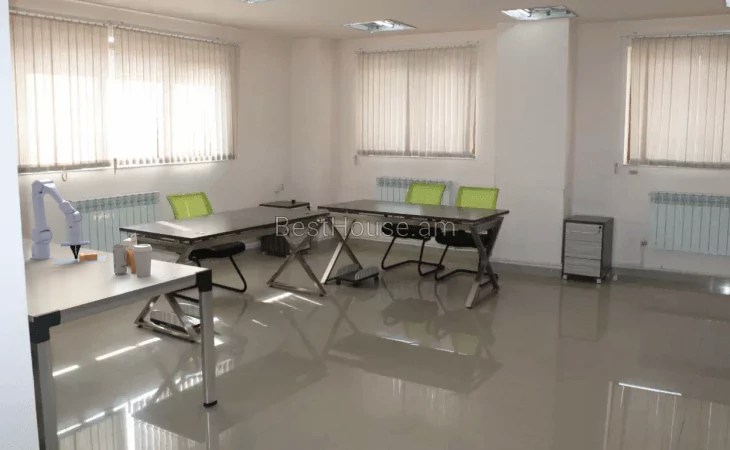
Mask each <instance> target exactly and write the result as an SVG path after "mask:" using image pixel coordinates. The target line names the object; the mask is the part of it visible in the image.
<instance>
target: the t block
mask: <svg viewBox="0 0 730 450" xmlns="http://www.w3.org/2000/svg"><path fill="white" fill-rule="evenodd" d="M98 256H99V255H98V252H93V253H92V252H91V253H85V252H79V254H78V257H79V262H84V261H85V260H98Z"/></svg>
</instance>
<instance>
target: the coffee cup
mask: <svg viewBox="0 0 730 450" xmlns="http://www.w3.org/2000/svg"><path fill="white" fill-rule="evenodd" d="M132 251H133V253H134V260H135V267H136V273H135V274H136V277H139V278H146V277H150V276H151V271H152V270H151V269H152V252H153V247H152V245H151V244H148V243H141V244H137V245H135V246H134V247H133V249H132Z"/></svg>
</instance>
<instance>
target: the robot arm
mask: <svg viewBox="0 0 730 450" xmlns="http://www.w3.org/2000/svg"><path fill="white" fill-rule="evenodd" d="M56 185H57V184H56V183H54V180H53V179H51V178H48V179H47V178H46V179H36V180H34V181H33V182H32V183H31V201H32V207H33V208H32V209H33V216H34V224H35V226H34V227H33V228H32V230H31V241H32V242H33V243H32V244H31V247H30V248H31V251H30V252H31V259H35V260H41V261H42V260H43V261H44V260H48V259H51V258H53V259H54V256H51V240H52V239H53V237H54V236H53V232H52V231H51V227H50V226H49V225H47V218H46V209H45V200H44V197H45V195H50V197H52V199H54V201H55V202H56V203H57V204H58V208H59V210H60V211H61V212H62V213H63V215H64V216H65V221H66V223H67V226H68V238H69V241H67V242H66V241H64V242H60V247H61V248H62V247H63V248H64V247H69V249H70V250H71V252H72V254H73V257H75V259H78V257H79V254H80V249H81V247H82V246H91V241H90V240H86V241H85V240H83V241H82V236H81V221H82V220H83V215H82V213H81V212H80V211H77V210H76V209H75V208H74V207H73V205H71V203H70V201H69V200H65V199H64V198H63V196H62V195H61V193H60V192H59V190H58V188H57V187H56Z"/></svg>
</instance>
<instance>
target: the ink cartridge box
mask: <svg viewBox="0 0 730 450" xmlns="http://www.w3.org/2000/svg"><path fill="white" fill-rule="evenodd" d="M122 243H123V244H124V245H125V247H126V251H127V250H132V249H133V247H134V246H135V245H138V237H137V233H136V232H134V233H132V234H130V237H128V238H125V239H123V240H122Z"/></svg>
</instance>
